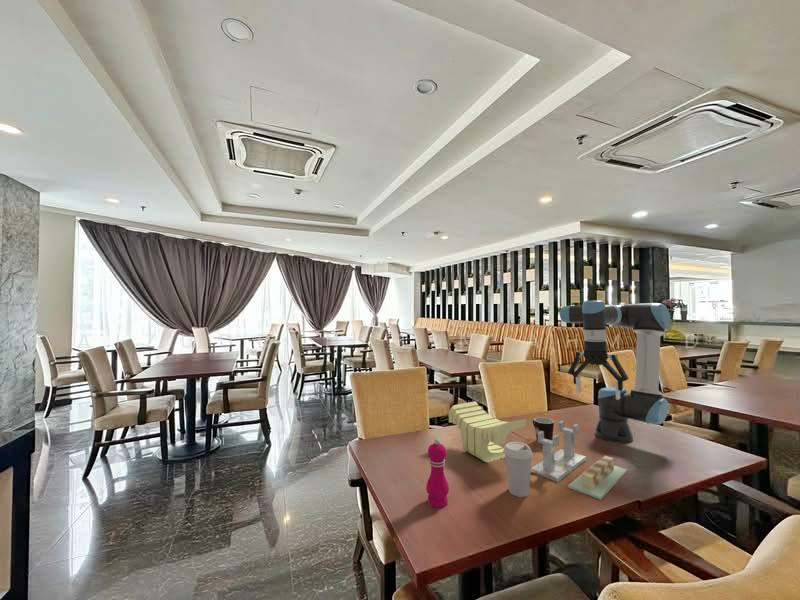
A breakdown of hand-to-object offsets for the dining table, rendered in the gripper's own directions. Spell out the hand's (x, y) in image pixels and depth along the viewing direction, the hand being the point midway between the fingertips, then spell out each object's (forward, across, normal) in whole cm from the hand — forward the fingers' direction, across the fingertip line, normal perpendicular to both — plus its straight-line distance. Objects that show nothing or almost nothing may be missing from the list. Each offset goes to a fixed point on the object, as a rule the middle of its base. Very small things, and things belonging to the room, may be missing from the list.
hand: (597, 395), depth 128 cm
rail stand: (+28, -12, -9) cm, 32 cm away
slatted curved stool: (+28, -38, -20) cm, 51 cm away
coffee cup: (+27, -14, -38) cm, 48 cm away
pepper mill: (+26, -28, -62) cm, 73 cm away
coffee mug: (+29, -28, +12) cm, 41 cm away
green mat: (+28, +2, -9) cm, 29 cm away
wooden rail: (+27, +2, -9) cm, 29 cm away
